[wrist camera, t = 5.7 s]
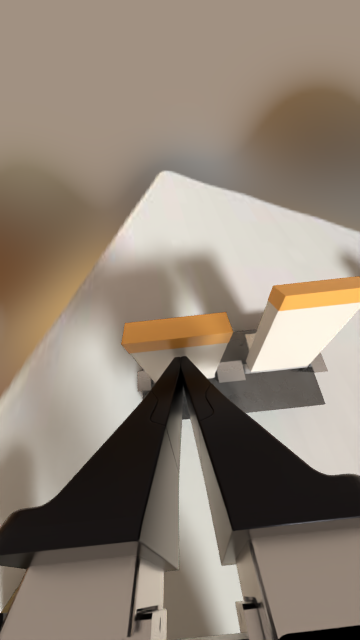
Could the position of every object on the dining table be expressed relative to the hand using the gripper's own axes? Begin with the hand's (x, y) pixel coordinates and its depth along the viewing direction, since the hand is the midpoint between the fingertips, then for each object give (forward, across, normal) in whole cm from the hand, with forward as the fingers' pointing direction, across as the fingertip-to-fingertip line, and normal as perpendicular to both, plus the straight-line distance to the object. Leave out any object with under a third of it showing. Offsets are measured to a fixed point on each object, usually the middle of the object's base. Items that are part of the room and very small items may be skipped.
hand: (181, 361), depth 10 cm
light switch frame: (+7, +5, -9) cm, 12 cm away
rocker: (+4, 0, -6) cm, 7 cm away
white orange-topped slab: (+4, +10, -6) cm, 12 cm away
